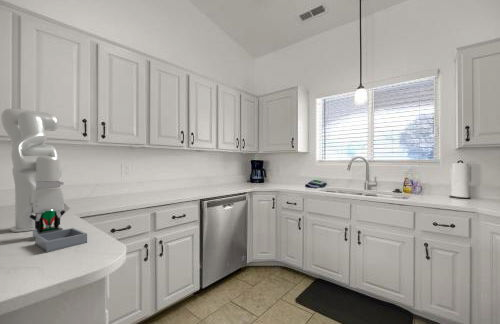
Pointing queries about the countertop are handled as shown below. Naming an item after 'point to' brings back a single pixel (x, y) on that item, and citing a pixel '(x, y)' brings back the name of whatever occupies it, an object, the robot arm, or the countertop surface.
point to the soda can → (48, 220)
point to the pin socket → (36, 232)
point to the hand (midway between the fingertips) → (47, 228)
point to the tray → (60, 239)
